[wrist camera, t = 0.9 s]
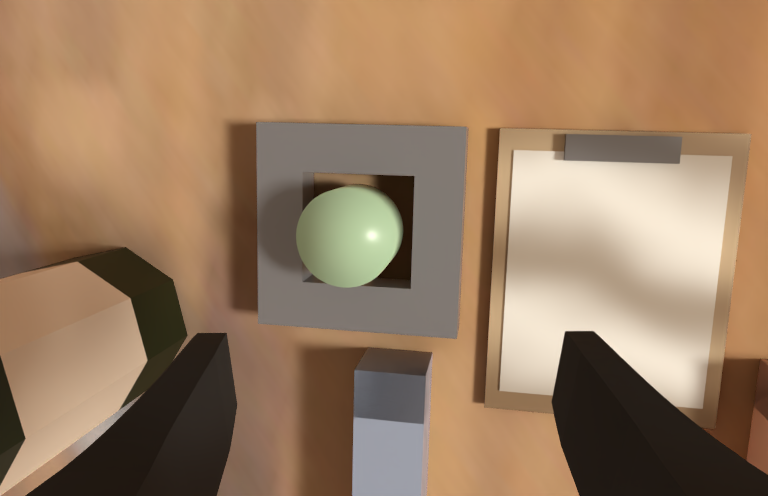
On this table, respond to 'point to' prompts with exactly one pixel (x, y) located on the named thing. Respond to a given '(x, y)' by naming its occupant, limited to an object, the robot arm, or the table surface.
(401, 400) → the grey rectangular bar
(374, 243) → the button
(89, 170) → the table surface
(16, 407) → the wine bottle
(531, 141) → the tan flat tray
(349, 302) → the button housing
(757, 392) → the block
